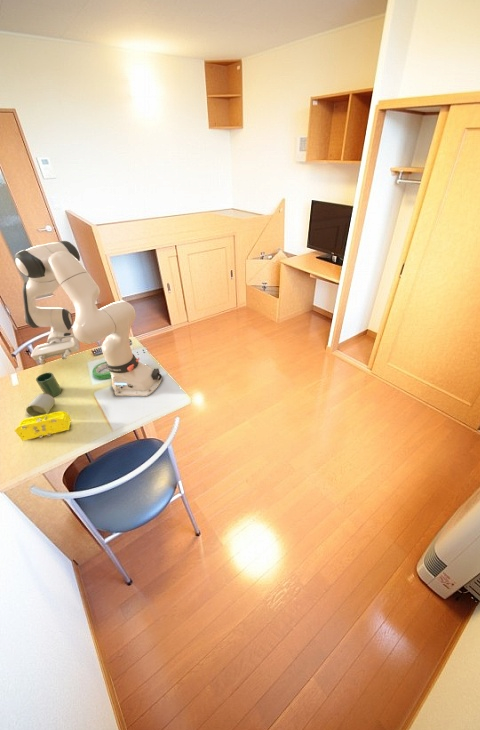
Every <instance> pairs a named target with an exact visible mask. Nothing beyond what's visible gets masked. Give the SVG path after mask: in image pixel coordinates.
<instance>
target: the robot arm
mask: <svg viewBox="0 0 480 730" xmlns="http://www.w3.org/2000/svg"><path fill="white" fill-rule="evenodd" d="M80 261H81V255H80V252H79V250H78V249H77V248H76V246H75V245H74V244H73V243H72V242H70V241H68V240H58V241H56V242H49V243H45V244H39V245H36V246H32V247H29V248H27V249H22V250H20V251H18V252H17V253H16V254H14V263H15V265H16V268H17V269H18V270H19V271H20V272H21V273H22V274H23V276H24V277H27V278H28V280H26V281H24V283H23V285H22V300H23V306H24V321H25V324H27V325H28V326H29V327H31V328H32V329H38V328H50V331H49V334H48V337H47V340H46V343H42V344H39V345H36V346H34V348H33V350H32V351H31V354H30V357H31V358H32V359H33V360H34V361H35V362H38V361H39V364H40V365H41V366H43V365H45V364H46V363H47V361H46V360H47V359H51V358H55V357H59V356H61V359H62V360H67V359H68V357H69V356H70V355H71V354H73V353H76V352H77V353H78V351H80V349H81V345H80V343H82V344H85V345H90V344H91V345H92V344H94V343H97V342H101V341H102V340H103V342H102V343H101V352H102V354H103V357H104V360H105V362H106V365H107V371H110V373H111V377H110V378H111V387H112V389H113V390H114V392H113V393H114V395H115V396H117V397H118V396H120V397H148V396H150V395H151V394H152V393H154V392H155V391H156V390H157V389H158V387H159V386H160V385H161V383H162V379H163V377H162V374H160V368H159V367H157V368H151V367H150V366H149V364H147V363H146V364H144V363H142V362H140V357H136V355H135V354H134V353H133V351H132V348H131V344H130V333H131V328H132V325H133V323H134V321H135V320H136V317H137V313H136V310H135V307H134V306H133V305H132V304H131V303H129V302H128V301H126V300H119V301H115V302H112V303H109V304H107V305H105V306H103V307H101V308H98V306H97V303H96V301H97V300H98V298H99V297H100V294H101V289H100V287H99V285H98V284H97V282H96V281H95V280H94V278H93V277H92V276H91V274H90V273H89V271H88V270H87V269H86V267H85V266H84V265H83V264H82V263H81V262H80ZM60 287H61V288H62V290H63V291H64V293H65V294H66V295H67V297H68V298H69V300H70V301H71V304H72V305H73V307H74V312H75V313H74V314H75V317H74V319H73V315H72V312H70V311H69V310H68V309H67V308H65V307H41V306H37V302H36V298H38V297H40V296H46V295H50V294H53V293H55V292H56V291H57V290H58V289H59V288H60ZM73 320H74V321H73Z"/></svg>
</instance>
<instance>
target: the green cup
mask: <svg viewBox="0 0 480 730" xmlns="http://www.w3.org/2000/svg"><path fill="white" fill-rule="evenodd" d="M35 381H36V383H37V384H38V386H39V388H40V389H41V391H42V392H43V393H45V394H49V395H51V396H52V397H53V398H55V397H57V396H59V395H60V394H61V393H62V387H61V386H60V384H59V382H58V380H57V379H56V377H55V376H54V374H53V373H52V372H43V373H42V374H39V375H38V376H37V377H36V378H35Z"/></svg>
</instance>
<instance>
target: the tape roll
mask: <svg viewBox="0 0 480 730" xmlns="http://www.w3.org/2000/svg"><path fill="white" fill-rule="evenodd" d="M106 368H107V365H106V361H103V362H101V363H98V364H97V365H95V366H94V367H93V369H92V375H93V377H94V378H95V379H96V380H107V379H110V378H111V373H110V371H109V370H107V371H106V372H100V371H102V370H104V369H106ZM107 369H108V368H107Z"/></svg>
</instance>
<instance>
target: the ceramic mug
mask: <svg viewBox="0 0 480 730" xmlns="http://www.w3.org/2000/svg"><path fill="white" fill-rule="evenodd" d="M55 399H56V398H55V397H52V396H51V395H49V394H45V393H44V392H43V393H39V394H38V395H36V396H35V397H34V398H33V400H32V401H31V402H30V403H29V404H28V405H26V407H25V414H26V415H28V416H30V417H36V416H40V415H45V414H49V413H50V411H51V410H52V408H53V407H54V405H55V402H56V400H55Z"/></svg>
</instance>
